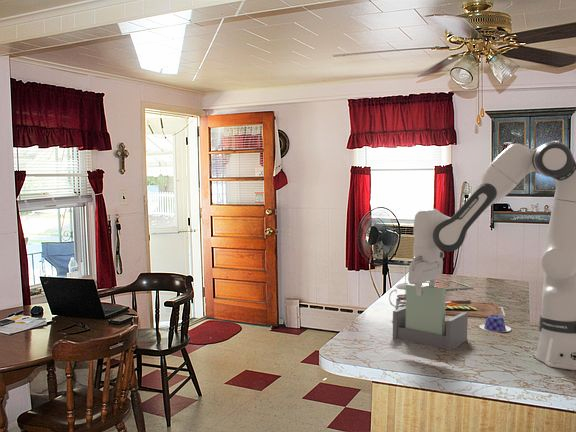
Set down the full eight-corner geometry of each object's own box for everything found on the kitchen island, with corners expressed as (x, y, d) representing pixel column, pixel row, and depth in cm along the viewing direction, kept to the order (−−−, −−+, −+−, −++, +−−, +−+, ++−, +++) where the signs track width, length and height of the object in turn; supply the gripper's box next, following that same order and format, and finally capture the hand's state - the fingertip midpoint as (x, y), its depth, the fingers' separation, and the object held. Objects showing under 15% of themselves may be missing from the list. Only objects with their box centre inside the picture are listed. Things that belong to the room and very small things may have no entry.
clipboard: (410, 283, 307) (457, 280, 315) (410, 286, 307) (457, 283, 315) (427, 290, 288) (477, 286, 297) (427, 293, 289) (477, 289, 297)
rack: (467, 343, 199) (467, 312, 198) (450, 354, 187) (450, 321, 187) (411, 332, 213) (412, 303, 212) (392, 342, 202) (392, 311, 201)
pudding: (490, 334, 212) (490, 321, 211) (473, 326, 223) (473, 313, 223) (517, 332, 214) (518, 319, 214) (499, 324, 226) (499, 312, 226)
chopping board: (398, 313, 246) (398, 306, 246) (404, 300, 272) (404, 294, 271) (506, 320, 233) (506, 313, 233) (502, 306, 258) (502, 300, 258)
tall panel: (444, 344, 193) (445, 288, 192) (441, 346, 192) (442, 289, 190) (408, 337, 202) (409, 283, 201) (405, 338, 200) (406, 284, 199)
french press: (417, 322, 229) (418, 262, 227) (388, 320, 231) (389, 261, 229) (416, 316, 238) (417, 259, 237) (389, 315, 241) (389, 258, 239)
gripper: (420, 258, 185) (420, 299, 186) (446, 252, 200) (445, 289, 201) (403, 257, 189) (403, 296, 190) (430, 250, 204) (429, 287, 205)
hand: (425, 293), depth 196 cm, fingers open, 8 cm apart
